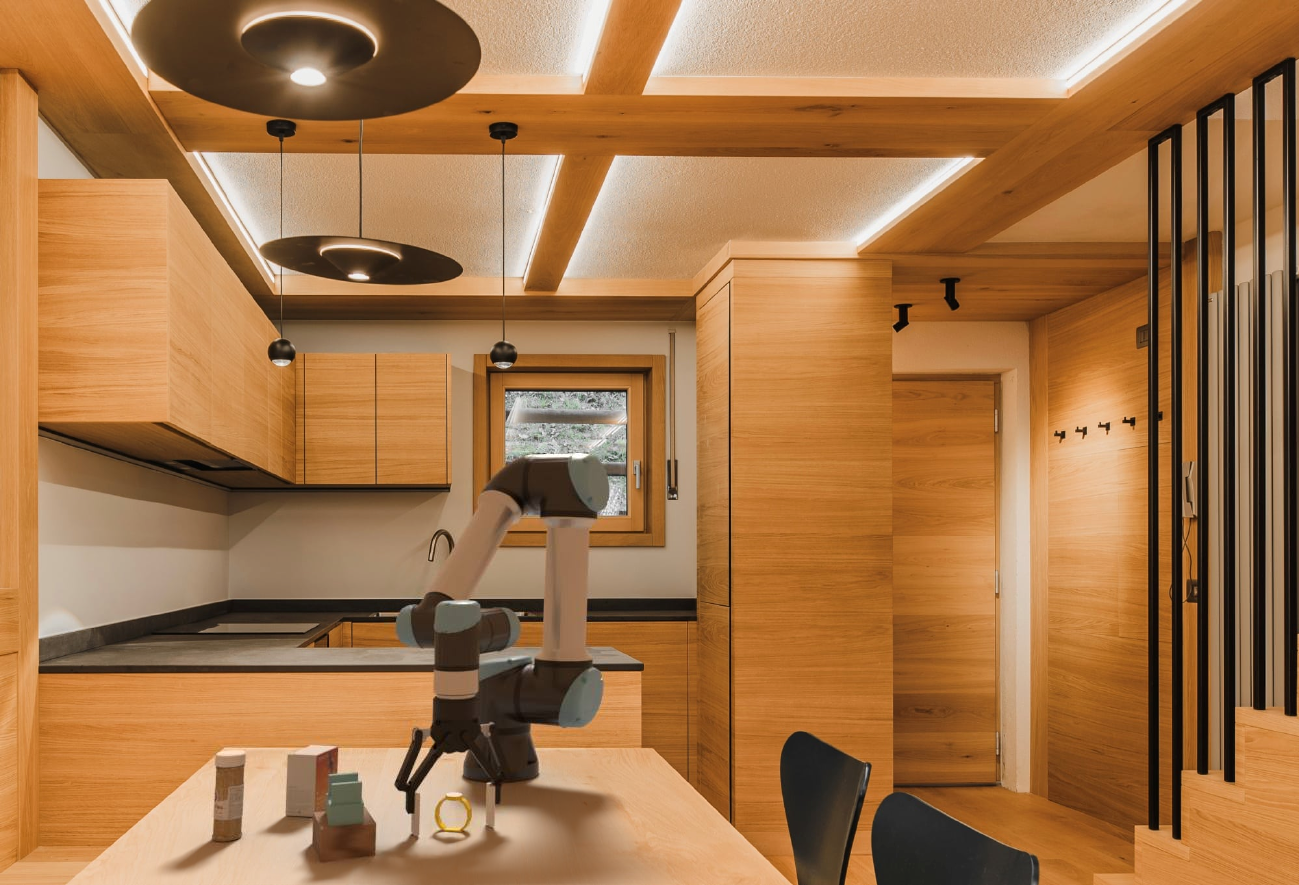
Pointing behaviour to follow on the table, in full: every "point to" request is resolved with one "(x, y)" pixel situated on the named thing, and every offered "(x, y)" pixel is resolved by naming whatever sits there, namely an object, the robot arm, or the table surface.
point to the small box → (309, 779)
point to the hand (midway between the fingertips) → (453, 829)
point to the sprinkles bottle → (229, 795)
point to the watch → (453, 797)
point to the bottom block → (343, 838)
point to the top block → (344, 800)
